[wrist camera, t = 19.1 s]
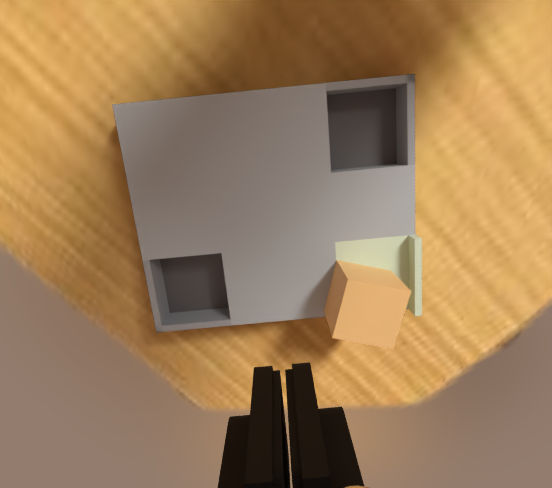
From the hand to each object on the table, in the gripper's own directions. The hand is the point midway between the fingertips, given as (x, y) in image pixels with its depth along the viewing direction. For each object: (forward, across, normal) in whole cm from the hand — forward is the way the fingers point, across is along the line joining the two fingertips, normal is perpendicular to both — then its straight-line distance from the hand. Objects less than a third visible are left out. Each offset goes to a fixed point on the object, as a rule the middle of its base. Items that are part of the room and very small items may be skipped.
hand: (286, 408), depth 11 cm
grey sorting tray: (+25, 0, -2) cm, 25 cm away
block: (+22, -7, +6) cm, 24 cm away
